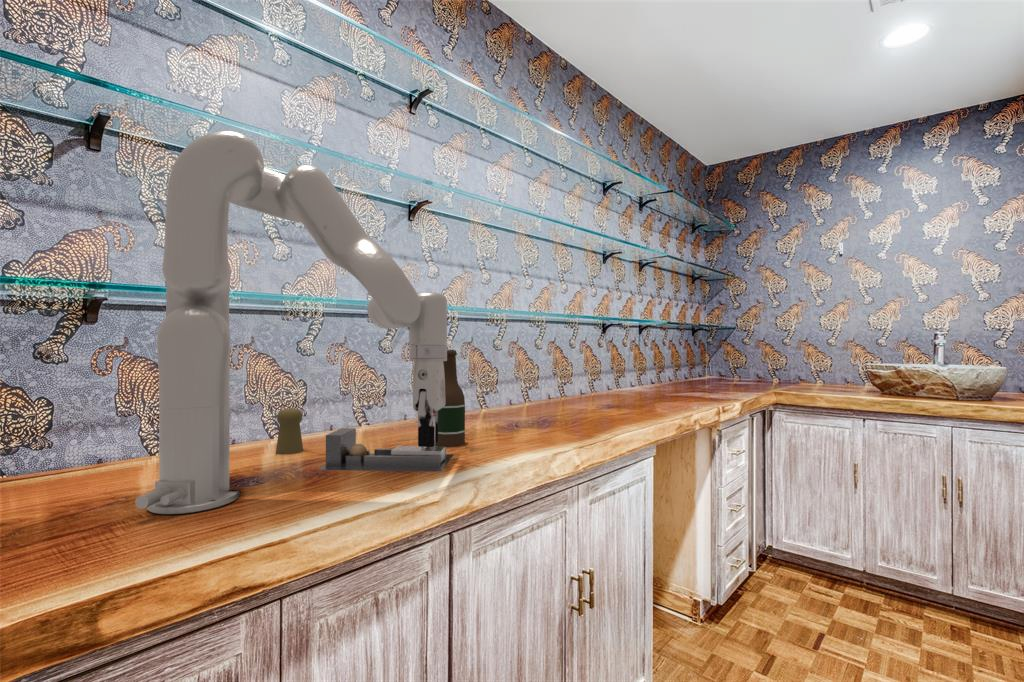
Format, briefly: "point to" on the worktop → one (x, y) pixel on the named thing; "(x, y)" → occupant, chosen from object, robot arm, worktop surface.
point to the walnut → (358, 450)
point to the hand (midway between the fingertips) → (428, 443)
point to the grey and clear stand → (420, 449)
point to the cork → (289, 432)
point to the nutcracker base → (373, 457)
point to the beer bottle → (451, 408)
